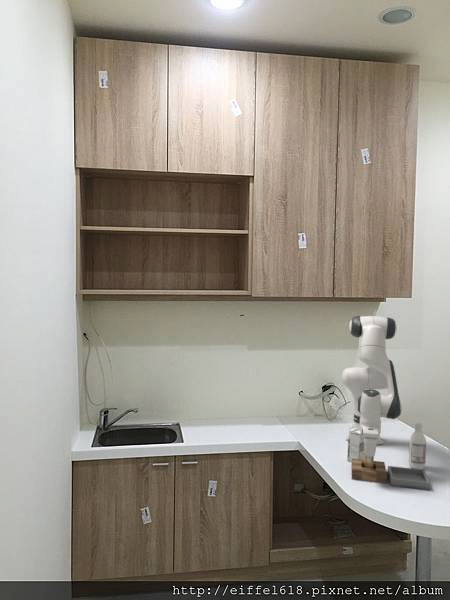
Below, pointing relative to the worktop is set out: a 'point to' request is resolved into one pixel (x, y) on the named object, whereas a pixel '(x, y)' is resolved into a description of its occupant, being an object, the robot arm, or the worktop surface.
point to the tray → (408, 478)
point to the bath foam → (417, 448)
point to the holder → (369, 471)
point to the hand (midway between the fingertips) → (368, 459)
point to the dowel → (368, 464)
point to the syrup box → (355, 445)
